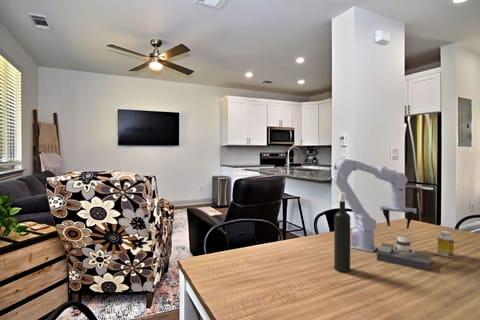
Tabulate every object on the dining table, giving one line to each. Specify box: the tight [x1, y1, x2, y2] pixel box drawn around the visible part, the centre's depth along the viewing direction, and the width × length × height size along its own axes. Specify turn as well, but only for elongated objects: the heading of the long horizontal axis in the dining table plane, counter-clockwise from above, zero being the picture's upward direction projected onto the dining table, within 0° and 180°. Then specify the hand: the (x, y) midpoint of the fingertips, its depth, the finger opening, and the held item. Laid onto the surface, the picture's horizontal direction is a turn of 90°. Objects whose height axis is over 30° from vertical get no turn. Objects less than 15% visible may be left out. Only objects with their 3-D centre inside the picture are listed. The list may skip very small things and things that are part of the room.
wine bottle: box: [333, 191, 351, 273], centre depth 101 cm, size 6×6×30 cm
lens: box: [396, 234, 411, 253], centre depth 109 cm, size 5×5×7 cm
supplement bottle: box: [437, 230, 455, 258], centre depth 115 cm, size 6×6×10 cm
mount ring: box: [393, 246, 416, 257], centre depth 110 cm, size 8×8×2 cm
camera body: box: [376, 242, 432, 272], centre depth 110 cm, size 18×12×4 cm, turn 52°
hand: (398, 226), depth 123 cm, fingers open, 7 cm apart
